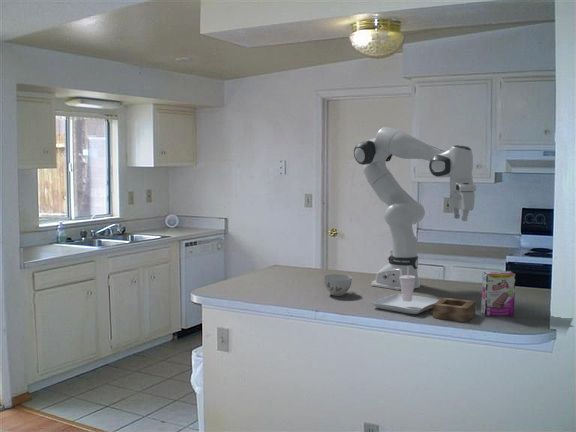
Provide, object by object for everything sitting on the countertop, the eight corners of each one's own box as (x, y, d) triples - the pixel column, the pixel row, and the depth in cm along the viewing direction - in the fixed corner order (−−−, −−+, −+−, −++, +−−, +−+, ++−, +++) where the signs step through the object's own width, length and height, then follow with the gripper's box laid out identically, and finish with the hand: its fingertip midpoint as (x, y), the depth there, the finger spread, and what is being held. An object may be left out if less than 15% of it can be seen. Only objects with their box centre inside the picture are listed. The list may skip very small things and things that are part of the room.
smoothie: (403, 303, 239) (403, 268, 237) (396, 299, 245) (396, 265, 243) (418, 301, 240) (418, 267, 239) (411, 298, 246) (411, 264, 245)
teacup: (342, 299, 257) (342, 280, 256) (317, 295, 264) (317, 277, 264) (360, 292, 269) (360, 274, 268) (335, 289, 277) (335, 271, 276)
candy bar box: (485, 316, 227) (486, 273, 225) (480, 313, 232) (481, 271, 230) (514, 316, 228) (516, 273, 226) (509, 312, 233) (510, 270, 231)
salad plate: (396, 300, 258) (396, 292, 257) (443, 307, 244) (443, 299, 244) (369, 310, 242) (369, 301, 241) (418, 319, 228) (418, 310, 228)
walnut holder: (432, 317, 227) (433, 304, 227) (442, 309, 238) (442, 297, 237) (466, 322, 221) (467, 308, 220) (475, 313, 231) (475, 301, 231)
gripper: (445, 184, 255) (445, 217, 257) (461, 187, 235) (461, 222, 236) (460, 184, 256) (459, 216, 257) (477, 187, 235) (476, 222, 237)
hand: (460, 219), depth 246 cm, fingers open, 8 cm apart
